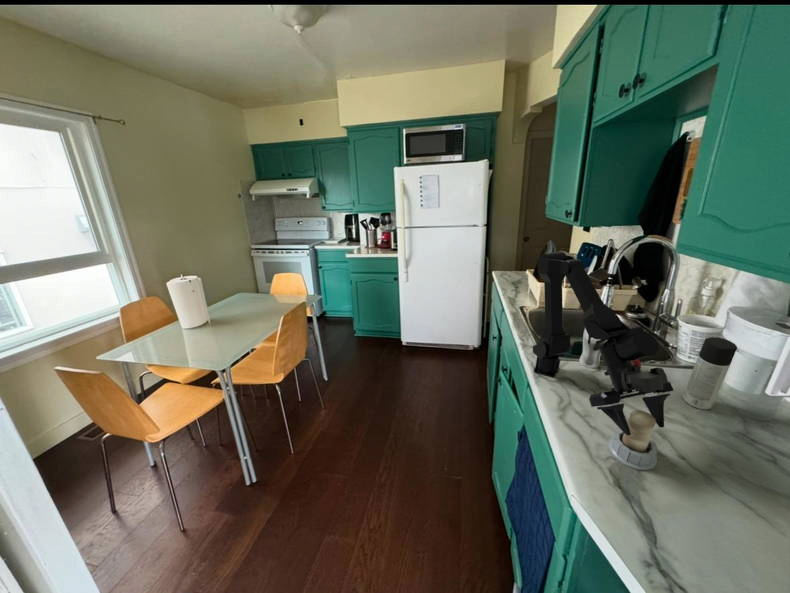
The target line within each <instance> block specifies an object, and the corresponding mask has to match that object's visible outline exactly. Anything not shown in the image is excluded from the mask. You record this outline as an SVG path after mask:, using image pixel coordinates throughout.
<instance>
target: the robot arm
mask: <svg viewBox="0 0 790 593" xmlns="http://www.w3.org/2000/svg"><path fill="white" fill-rule="evenodd" d="M536 265H537V271H538V275H539V276H540V278H541V280H542V281H543V284H544V286H543V287H544V288H543V290H544V319H545V322H544V323H545V324H544V329H543V330H542V331H541V334H540V335H539V343H537V344H534V345H533V346H532V353H533V354H534V355H535V356H536V361H535V367H534V369H533V372H534V373H536V374H540V375H543V376H546V377H551V378H555V377H556V375H557V374H558V373H559V370H560V364H561V360H562V359H561V358H560V357H565V356H566V355H567V353H568V352H570V349H571V348H572V345H571V335H570V333H567V332H566V330H565V328H564V326H563V325H564V318H563V317H564V316H563V314H564V311H563V309H564V308H563V281H564V279H565V278H566V280H567V282H568V284H569V285H570V287H571V289H572V291H573V292H574V294H575V295H574V296H575V297H576V299H577V301H578V302H579V304H580V307H581V310H582V311H583V317H582V323H583V325H584V329H585V328H586V331H587V333H588V335H589V336H590V337H591V338H594V339H600V340H598V341H596V344H595V346H594V347H593V350H594V351H597V350H600V353H601V355H600V356H601V357H602V358H601V359H602V360H603V363H604V365H605V368H606V370H607V371H604V372H603V373H604V376H606V377H608V376H609V378H610V381H611V383H612V388H611V387H610V390H608V391H607V390H606V391H601V392H596V393H593V394H590V395H589V403H590V406H591V407H592V408H594V407H596V409H597V410H601V411H602V412H603V413H604V414H605V415H606V416H608V417H609V419H611V421H612V422H614V424H615V425H616V426H617V427H618V429H621V430H622V431H623V432H624V433H625V434H626V435H631V433H630V429H629V426H628V423H627V422H628V420H627V419H626V416H625V413H624V406H625V403H621V400H624V399H628V398H633V397H637V396H641V395H643V397H641V399H642V401H643V403H644V405H645V407H646V408H647V410H648V411H649V414H650V415H652V416H653V417H654V418H655V420H656V425H657V426H658V427H659V428H664V427H665V409H664V408H665V407H664V406H665V401H666V400H667V398H668V397H670V396H671V392H674V388H673V386H672V383H671V381H668V377H667V374H666V371H665V370H664V368H662V367H653V368H650V370H649V371H642V368H641V369H640V367H639V366H638V365H633V363H632V362H631V361H633V360H637V359H638V360H640V359H646V358H648V357H652V356H655V355H656V354H657V353H658V351H659V342H658V340H657V338H655V337H654V336H653V335H652V334H651V333H649V332H648V331H646V330H644V327H643V326H636V327H632V328H631V327H630V326H628V324H626V323H624V322H623V321H622V320H621V319H620V317H619V316H618V315H617V313H616V312H615V311H614V309H612V308H611V307H610V306H608V305H606V304H605V303H604V301H603V300H602V298H601V295H600V294H599V293H598V291H597V289H596V287H595V285H594V284H593V282H592V280H591V278H590V277H589V274H588V273H587V271H586V268H585V264H584V261H582V259H577V258H576V257H575V256H573V255H569V254H566V253H565V252H564V251H552V252H544V253H541V254H540V255H539V257H537V261H536ZM606 340H607V341H606ZM633 390H634V391H633Z"/></svg>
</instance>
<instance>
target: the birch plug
mask: <svg viewBox="0 0 790 593" xmlns="http://www.w3.org/2000/svg"><path fill="white" fill-rule="evenodd" d="M627 423H628V426H629V429H630V433H631V435H626V434H625V433H624V435H623V438H622V441H621V442H622V444H623V445H624V446H626V447H627V448H629V449H630V450H632V451H635V452H638V453H645V452H646V449H647V446H648V443H649V441H650V438H651V439H652V434H653V432H654V429H655V426H656V425H657V423H656V420H655V418H654V417H653V416H652V415H651V413H650V412H649V413H648V412H646V411H644V410H640V409H633V410H631V411H630V412H629V415H628V420H627Z"/></svg>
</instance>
